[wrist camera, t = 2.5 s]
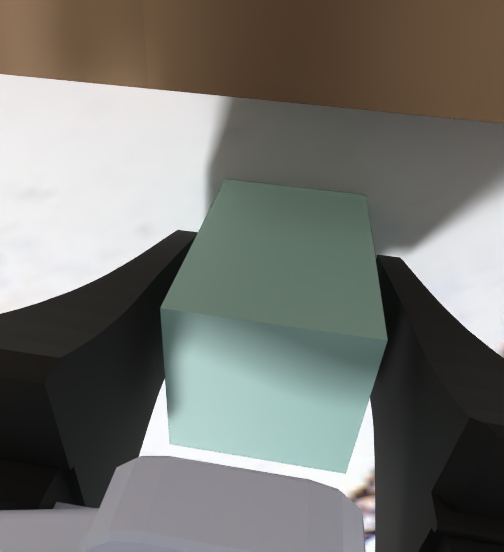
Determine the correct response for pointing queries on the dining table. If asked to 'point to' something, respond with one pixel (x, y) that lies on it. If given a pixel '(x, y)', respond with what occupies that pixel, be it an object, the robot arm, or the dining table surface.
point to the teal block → (275, 327)
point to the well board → (273, 50)
